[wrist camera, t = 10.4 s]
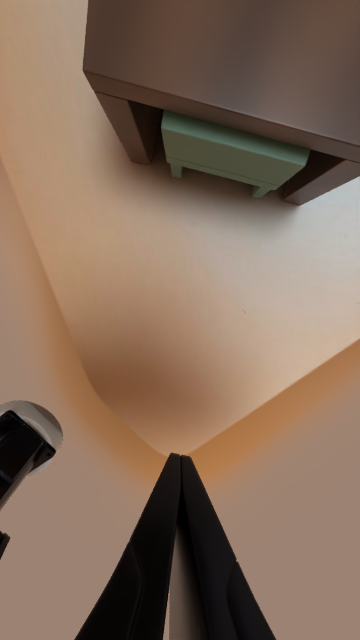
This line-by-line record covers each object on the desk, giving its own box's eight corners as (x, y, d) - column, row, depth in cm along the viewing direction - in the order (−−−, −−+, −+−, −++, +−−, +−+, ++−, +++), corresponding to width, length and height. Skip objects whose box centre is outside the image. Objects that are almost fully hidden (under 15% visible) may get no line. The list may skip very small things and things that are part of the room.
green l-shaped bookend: (169, 178, 15) (160, 127, 10) (192, 57, 14) (198, -94, 8) (261, 201, 16) (305, 166, 10) (295, 86, 14) (375, -39, 8)
